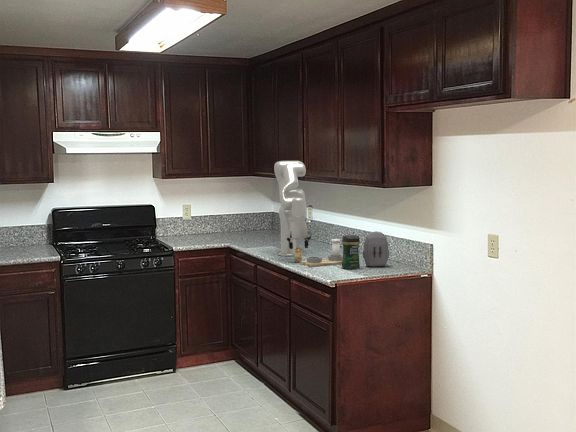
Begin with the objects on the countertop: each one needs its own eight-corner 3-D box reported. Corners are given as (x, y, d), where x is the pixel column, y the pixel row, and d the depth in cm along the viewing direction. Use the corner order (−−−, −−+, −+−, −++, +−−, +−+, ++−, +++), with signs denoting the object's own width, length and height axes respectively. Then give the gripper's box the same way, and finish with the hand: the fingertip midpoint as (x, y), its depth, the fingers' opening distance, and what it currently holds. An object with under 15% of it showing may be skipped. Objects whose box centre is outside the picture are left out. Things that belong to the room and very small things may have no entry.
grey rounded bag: (388, 265, 369) (388, 230, 367) (390, 267, 360) (390, 232, 359) (361, 265, 368) (361, 230, 366) (363, 268, 360) (363, 232, 358)
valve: (293, 262, 383) (292, 247, 382) (300, 261, 385) (300, 247, 384) (297, 263, 378) (296, 249, 377) (304, 262, 380) (304, 248, 379)
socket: (305, 261, 375) (305, 257, 375) (317, 260, 379) (317, 256, 378) (311, 263, 368) (310, 259, 368) (323, 262, 371) (323, 258, 371)
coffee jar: (346, 270, 355) (345, 236, 353) (340, 267, 362) (339, 234, 361) (361, 268, 358) (361, 235, 357) (355, 266, 366) (355, 233, 364)
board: (299, 263, 378) (299, 261, 377) (336, 260, 387) (336, 257, 387) (310, 267, 365) (310, 264, 365) (347, 263, 374) (347, 261, 374)
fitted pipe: (326, 259, 381) (326, 239, 380) (338, 258, 384) (338, 238, 383) (332, 261, 374) (332, 240, 372) (345, 260, 377) (345, 239, 376)
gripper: (308, 218, 386) (309, 246, 387) (282, 219, 379) (282, 248, 380) (314, 219, 379) (314, 248, 380) (287, 220, 372) (287, 249, 373)
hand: (298, 248), depth 380 cm, fingers open, 9 cm apart
